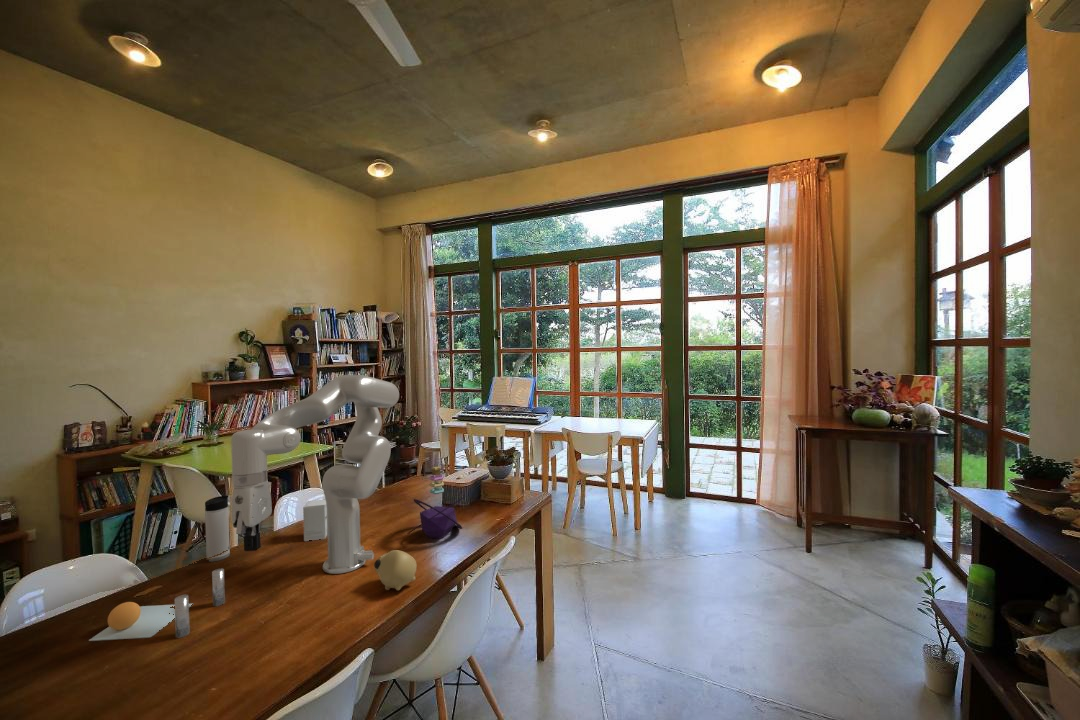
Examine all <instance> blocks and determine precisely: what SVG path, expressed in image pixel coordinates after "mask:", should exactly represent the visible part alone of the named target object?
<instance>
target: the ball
mask: <svg viewBox="0 0 1080 720" xmlns="http://www.w3.org/2000/svg"><path fill="white" fill-rule="evenodd" d="M139 606H140V605H139V604H138V603H136V602H134V601H125V602H122V603H120V604H118V605H117V606H115V607H114V608H113V609H112V610H111V611H110V613H109V615H108V616H107V625H108V627H109V626H110V627H111V628H112V629H115V630H122V629H126V628H128V627H130V626H131V625H133V624H134V623H135V622H136V621H137V620H138V618H139V616H140V613H141V609H140V607H139Z"/></svg>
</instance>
